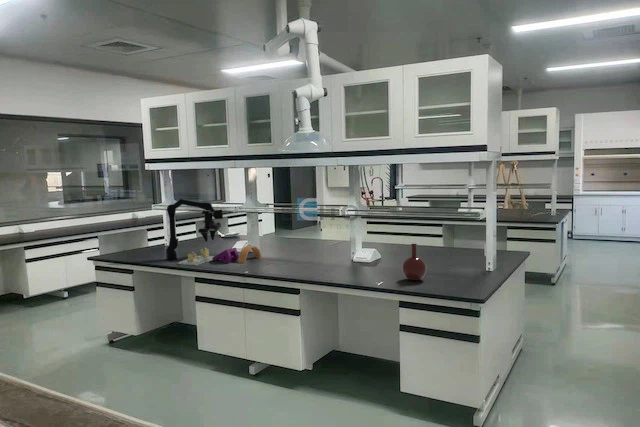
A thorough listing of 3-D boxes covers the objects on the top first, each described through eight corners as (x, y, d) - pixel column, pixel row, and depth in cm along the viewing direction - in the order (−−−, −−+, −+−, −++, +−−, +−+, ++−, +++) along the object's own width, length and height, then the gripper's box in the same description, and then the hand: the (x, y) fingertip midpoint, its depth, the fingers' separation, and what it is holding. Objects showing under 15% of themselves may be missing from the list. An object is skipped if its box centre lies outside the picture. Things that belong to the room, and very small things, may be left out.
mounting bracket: (213, 270, 328) (230, 261, 319) (209, 259, 329) (226, 249, 320) (223, 267, 336) (240, 258, 327) (219, 256, 337) (235, 247, 328)
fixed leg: (188, 261, 324) (187, 252, 324) (191, 260, 328) (191, 251, 328) (193, 261, 323) (192, 252, 322) (196, 260, 327) (196, 251, 326)
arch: (261, 258, 337) (260, 244, 336) (245, 263, 320) (244, 248, 319) (254, 257, 340) (253, 243, 339) (238, 263, 322) (237, 248, 321)
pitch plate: (178, 264, 323) (178, 261, 322) (199, 257, 345) (199, 255, 345) (196, 265, 318) (195, 262, 318) (215, 258, 340) (215, 255, 340)
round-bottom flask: (399, 282, 256) (399, 245, 254) (405, 276, 268) (404, 241, 266) (423, 283, 250) (423, 246, 248) (428, 278, 262) (428, 242, 260)
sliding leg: (200, 256, 338) (200, 248, 338) (204, 255, 342) (203, 247, 341) (205, 256, 337) (205, 248, 336) (208, 255, 341) (208, 247, 340)
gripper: (210, 221, 332) (211, 243, 333) (225, 218, 349) (226, 239, 351) (197, 221, 336) (198, 242, 337) (212, 218, 353) (213, 238, 355)
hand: (209, 240), depth 345 cm, fingers open, 8 cm apart
